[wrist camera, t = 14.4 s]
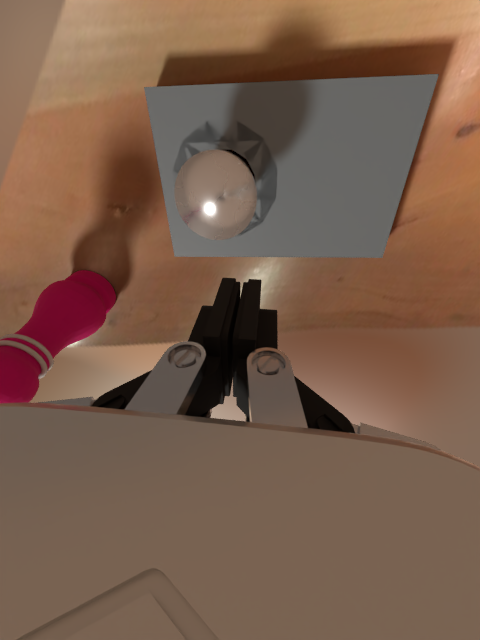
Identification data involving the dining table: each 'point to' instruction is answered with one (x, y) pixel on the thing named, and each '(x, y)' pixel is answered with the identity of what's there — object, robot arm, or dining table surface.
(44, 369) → the pepper mill
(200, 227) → the grey cylindrical piece
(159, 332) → the dining table surface
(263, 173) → the plate
